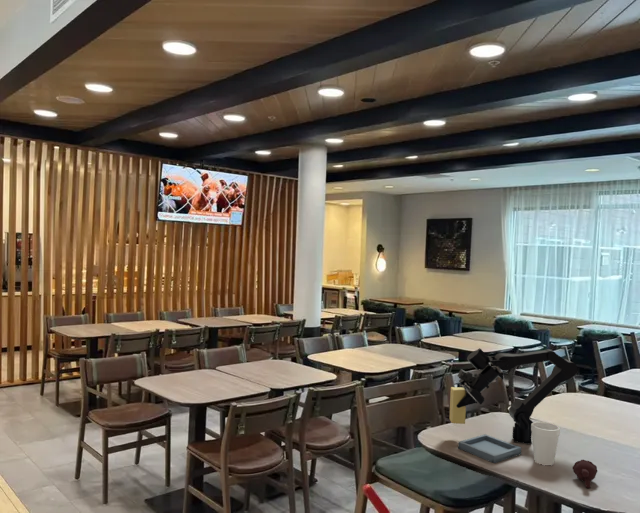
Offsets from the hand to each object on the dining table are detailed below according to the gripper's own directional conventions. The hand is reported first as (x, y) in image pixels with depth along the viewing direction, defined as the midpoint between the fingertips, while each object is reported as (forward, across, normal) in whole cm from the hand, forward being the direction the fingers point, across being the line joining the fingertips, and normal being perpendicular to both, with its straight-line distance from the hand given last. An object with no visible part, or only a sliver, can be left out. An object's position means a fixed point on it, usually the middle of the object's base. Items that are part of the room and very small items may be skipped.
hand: (455, 404), depth 212 cm
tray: (+2, +13, +16) cm, 21 cm away
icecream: (-15, +35, +34) cm, 51 cm away
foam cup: (-10, +21, +29) cm, 37 cm away
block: (+4, 0, +5) cm, 7 cm away
